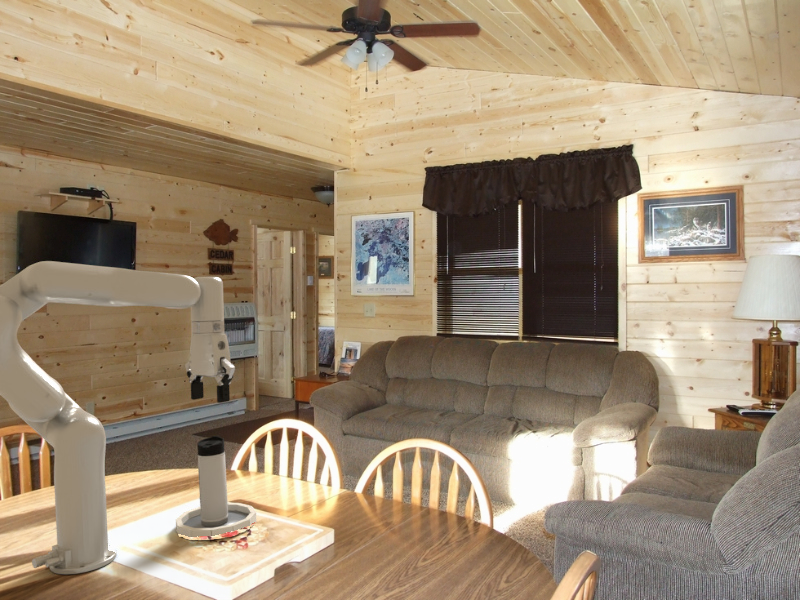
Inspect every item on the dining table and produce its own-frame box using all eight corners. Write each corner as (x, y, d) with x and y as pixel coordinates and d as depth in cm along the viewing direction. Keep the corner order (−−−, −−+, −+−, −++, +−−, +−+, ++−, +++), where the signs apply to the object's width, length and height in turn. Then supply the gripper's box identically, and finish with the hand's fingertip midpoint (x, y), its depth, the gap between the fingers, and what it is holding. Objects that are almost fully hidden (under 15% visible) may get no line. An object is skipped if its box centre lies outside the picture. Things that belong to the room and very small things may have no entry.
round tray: (209, 547, 139) (209, 535, 139) (161, 531, 149) (160, 520, 149) (270, 520, 153) (270, 510, 153) (222, 508, 164) (222, 498, 164)
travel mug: (232, 516, 154) (228, 435, 154) (222, 527, 148) (217, 442, 147) (208, 516, 155) (204, 435, 154) (196, 527, 148) (192, 442, 148)
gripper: (244, 328, 148) (246, 400, 149) (198, 327, 158) (200, 395, 159) (218, 329, 142) (220, 405, 142) (172, 329, 152) (174, 400, 153)
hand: (210, 400), depth 151 cm, fingers open, 9 cm apart
